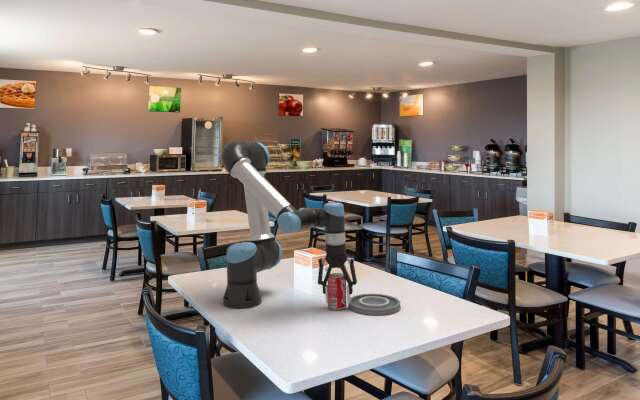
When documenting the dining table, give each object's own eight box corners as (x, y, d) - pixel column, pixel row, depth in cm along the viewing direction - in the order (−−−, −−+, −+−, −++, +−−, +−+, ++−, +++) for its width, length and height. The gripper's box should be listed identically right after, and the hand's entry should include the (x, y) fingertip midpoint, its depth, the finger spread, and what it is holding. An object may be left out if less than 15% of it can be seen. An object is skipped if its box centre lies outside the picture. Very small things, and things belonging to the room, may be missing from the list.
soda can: (344, 311, 177) (344, 277, 176) (325, 310, 179) (325, 276, 177) (347, 305, 184) (347, 273, 183) (329, 304, 185) (329, 272, 184)
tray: (344, 313, 175) (344, 307, 174) (352, 297, 194) (352, 291, 194) (399, 317, 171) (399, 310, 170) (401, 300, 190) (401, 294, 190)
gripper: (307, 245, 177) (310, 304, 179) (361, 245, 173) (363, 305, 175) (311, 241, 185) (314, 298, 187) (363, 241, 181) (365, 299, 182)
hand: (338, 302), depth 181 cm, fingers open, 7 cm apart
